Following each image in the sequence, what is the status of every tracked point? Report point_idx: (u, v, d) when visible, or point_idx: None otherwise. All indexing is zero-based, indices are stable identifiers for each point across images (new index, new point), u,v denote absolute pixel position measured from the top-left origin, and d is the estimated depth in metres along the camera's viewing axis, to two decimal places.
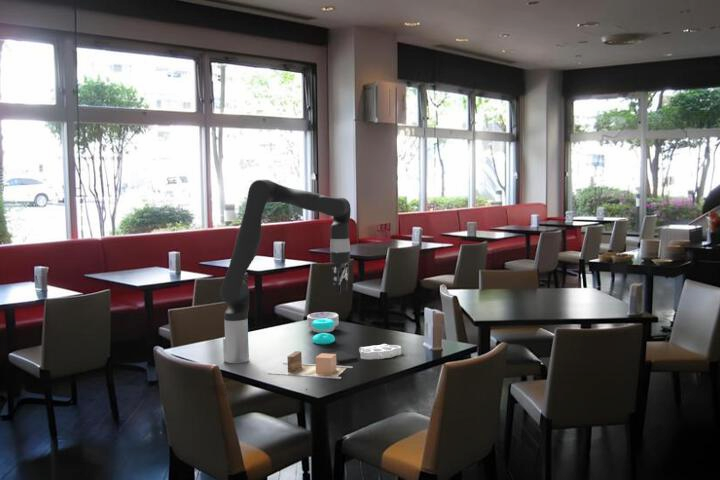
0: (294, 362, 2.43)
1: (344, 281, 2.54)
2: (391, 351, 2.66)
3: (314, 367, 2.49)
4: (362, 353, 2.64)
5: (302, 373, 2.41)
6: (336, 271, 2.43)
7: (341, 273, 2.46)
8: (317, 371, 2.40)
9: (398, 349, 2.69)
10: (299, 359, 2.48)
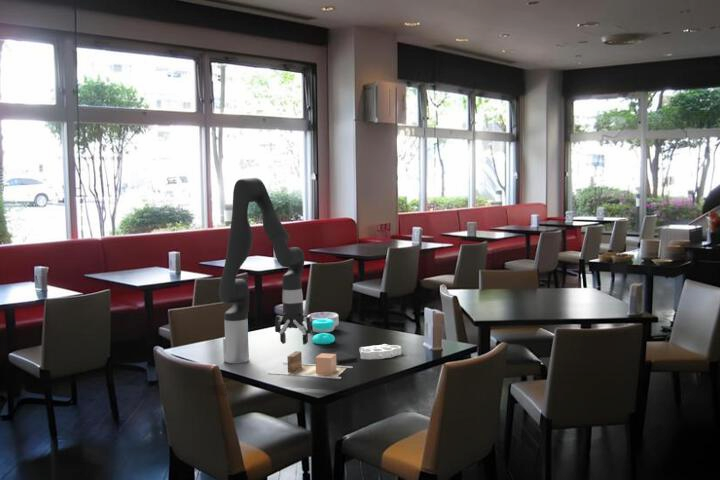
0: (294, 362, 2.43)
1: (284, 333, 2.46)
2: (391, 351, 2.66)
3: (314, 367, 2.49)
4: (362, 353, 2.64)
5: (302, 373, 2.41)
6: (311, 320, 2.43)
7: (302, 322, 2.45)
8: (317, 371, 2.40)
9: (398, 349, 2.69)
10: (299, 359, 2.48)
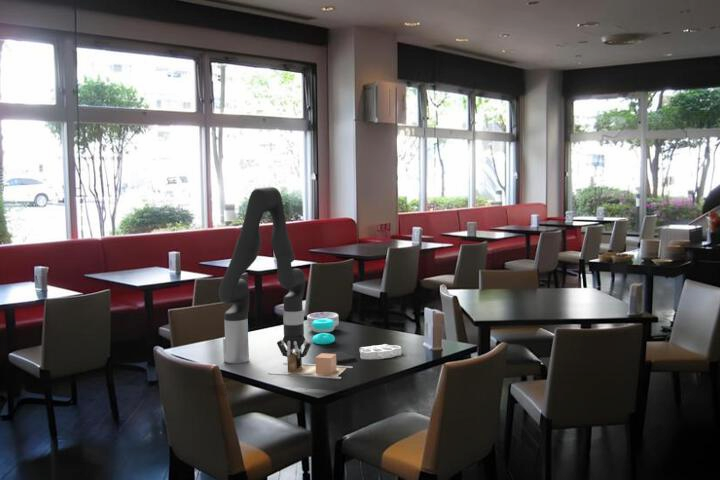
0: (294, 362, 2.43)
1: None
2: (391, 351, 2.66)
3: (314, 367, 2.49)
4: (362, 353, 2.64)
5: (302, 373, 2.41)
6: (309, 346, 2.44)
7: None
8: (317, 371, 2.41)
9: (398, 349, 2.68)
10: None
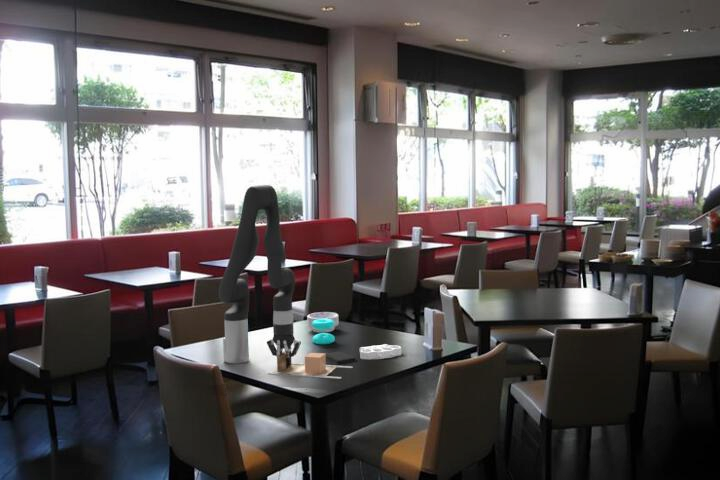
0: (283, 361, 2.44)
1: None
2: (391, 351, 2.65)
3: (304, 366, 2.50)
4: (362, 353, 2.64)
5: (291, 372, 2.42)
6: (299, 345, 2.46)
7: None
8: (306, 370, 2.42)
9: (398, 349, 2.68)
10: None
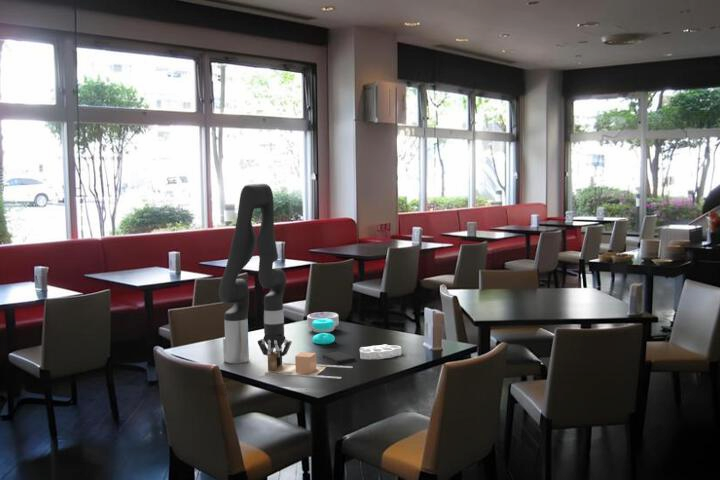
0: (274, 361, 2.45)
1: None
2: (391, 351, 2.65)
3: (294, 366, 2.51)
4: (362, 353, 2.64)
5: (282, 372, 2.43)
6: None
7: None
8: (297, 370, 2.43)
9: (398, 349, 2.68)
10: None
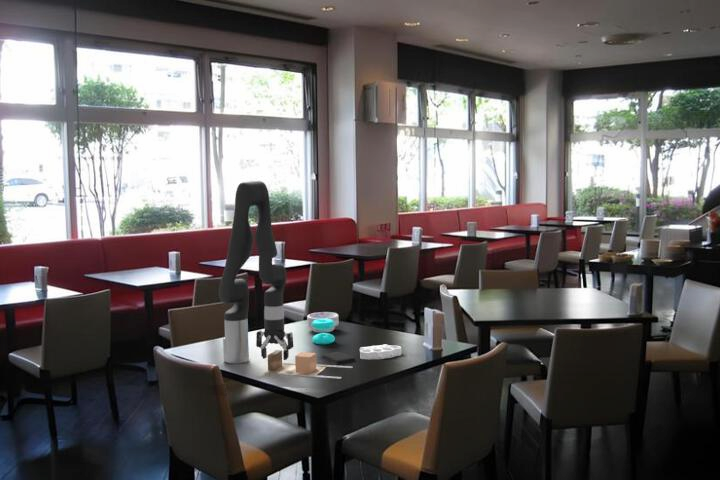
0: (274, 361, 2.45)
1: (265, 348, 2.50)
2: (391, 351, 2.65)
3: (294, 366, 2.51)
4: (361, 353, 2.64)
5: (282, 372, 2.43)
6: (292, 336, 2.47)
7: (283, 338, 2.48)
8: (297, 370, 2.43)
9: (398, 350, 2.68)
10: (280, 358, 2.50)
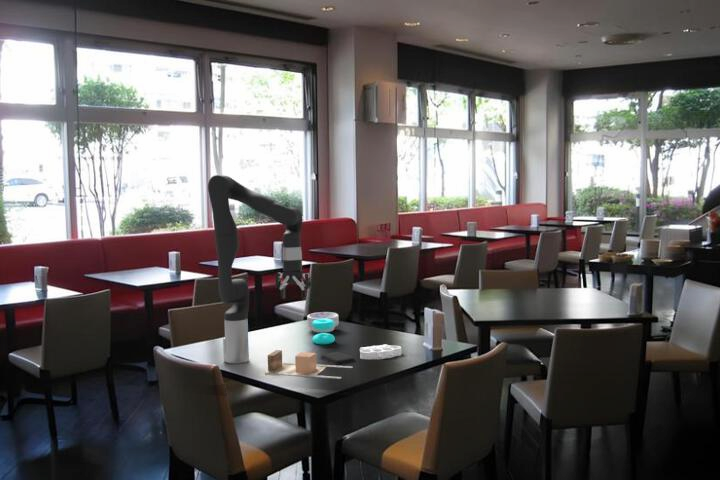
0: (274, 361, 2.45)
1: (284, 289, 2.60)
2: (391, 351, 2.65)
3: (294, 366, 2.51)
4: (361, 353, 2.64)
5: (282, 372, 2.43)
6: (309, 276, 2.57)
7: (301, 279, 2.59)
8: (297, 370, 2.43)
9: (398, 350, 2.68)
10: (280, 358, 2.50)
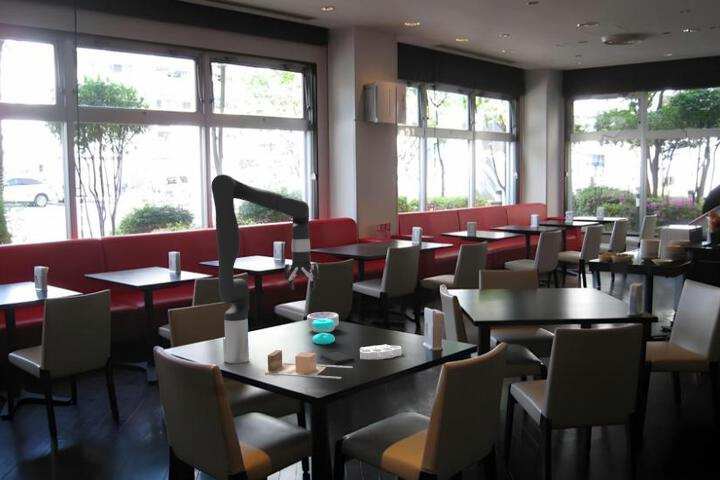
0: (274, 361, 2.45)
1: (292, 280, 2.66)
2: (391, 352, 2.65)
3: (294, 366, 2.51)
4: (361, 353, 2.64)
5: (282, 372, 2.43)
6: (318, 267, 2.63)
7: (309, 270, 2.65)
8: (297, 370, 2.43)
9: (398, 350, 2.68)
10: (280, 358, 2.50)
